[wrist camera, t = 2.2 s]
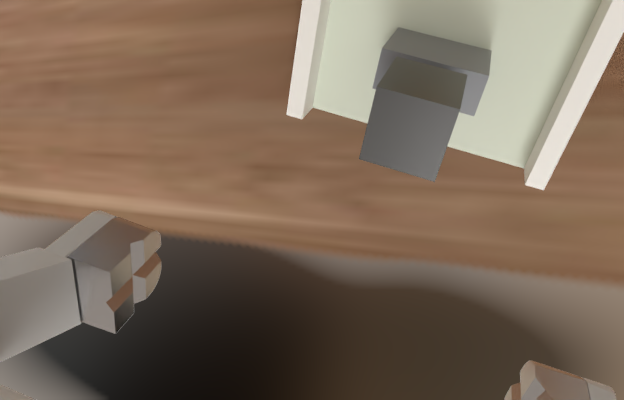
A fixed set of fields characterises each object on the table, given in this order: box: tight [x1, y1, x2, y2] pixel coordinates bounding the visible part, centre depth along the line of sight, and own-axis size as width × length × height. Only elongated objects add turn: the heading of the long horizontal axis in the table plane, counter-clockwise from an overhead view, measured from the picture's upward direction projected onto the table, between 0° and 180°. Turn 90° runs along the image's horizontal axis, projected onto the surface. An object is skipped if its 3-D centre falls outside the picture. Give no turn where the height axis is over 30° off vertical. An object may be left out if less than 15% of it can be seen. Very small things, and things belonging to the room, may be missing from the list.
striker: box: [359, 27, 492, 182], centre depth 23 cm, size 5×3×11 cm, turn 81°
